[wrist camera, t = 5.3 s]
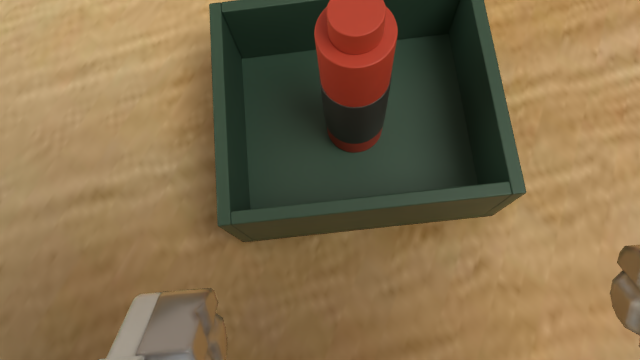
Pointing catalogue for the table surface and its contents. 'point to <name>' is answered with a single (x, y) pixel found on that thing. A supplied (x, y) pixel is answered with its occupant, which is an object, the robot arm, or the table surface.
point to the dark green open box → (397, 132)
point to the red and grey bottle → (355, 69)
